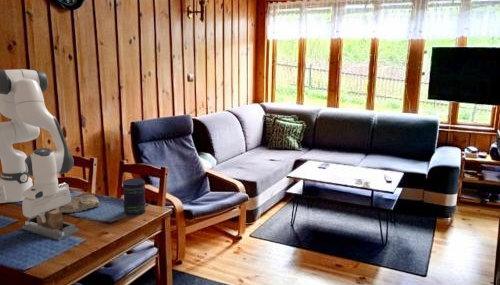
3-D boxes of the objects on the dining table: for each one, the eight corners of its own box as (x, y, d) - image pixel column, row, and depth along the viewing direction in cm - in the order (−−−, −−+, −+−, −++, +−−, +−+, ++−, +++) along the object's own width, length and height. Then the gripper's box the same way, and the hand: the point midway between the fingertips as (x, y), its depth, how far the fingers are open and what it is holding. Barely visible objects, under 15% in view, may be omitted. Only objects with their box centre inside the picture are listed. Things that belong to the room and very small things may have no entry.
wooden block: (35, 225, 169) (34, 209, 168) (43, 221, 172) (42, 206, 171) (55, 231, 164) (53, 215, 162) (63, 227, 167) (61, 211, 166)
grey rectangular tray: (22, 228, 169) (21, 221, 168) (43, 220, 178) (42, 213, 177) (58, 240, 160) (57, 232, 159) (79, 230, 168) (78, 223, 168)
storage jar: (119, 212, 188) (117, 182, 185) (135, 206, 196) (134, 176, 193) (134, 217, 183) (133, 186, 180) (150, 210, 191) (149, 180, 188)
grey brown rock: (58, 217, 182) (102, 207, 194) (57, 207, 181) (101, 197, 193) (50, 208, 193) (93, 199, 205) (49, 199, 192) (92, 190, 204)
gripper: (62, 180, 175) (65, 210, 178) (18, 194, 158) (21, 227, 161) (73, 182, 173) (75, 212, 176) (28, 197, 155) (32, 230, 158)
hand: (49, 219), depth 168 cm, fingers closed on wooden block, 3 cm apart
